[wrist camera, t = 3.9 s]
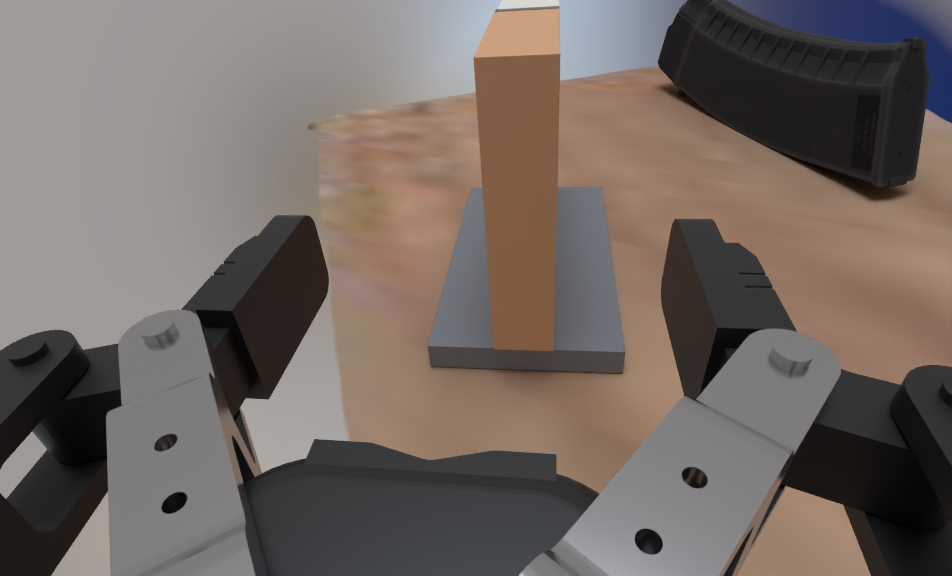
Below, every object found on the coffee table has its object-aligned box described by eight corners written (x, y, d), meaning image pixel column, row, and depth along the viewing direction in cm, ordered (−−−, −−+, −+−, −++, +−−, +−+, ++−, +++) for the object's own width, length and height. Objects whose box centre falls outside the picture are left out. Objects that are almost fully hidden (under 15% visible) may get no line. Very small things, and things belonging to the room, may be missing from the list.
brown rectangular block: (554, 260, 33) (559, 8, 25) (553, 351, 27) (560, 53, 19) (505, 260, 34) (494, 11, 25) (493, 349, 27) (473, 57, 19)
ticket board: (600, 204, 42) (617, -28, 33) (622, 373, 28) (664, 48, 18) (472, 205, 43) (453, -18, 34) (431, 366, 29) (379, 60, 20)
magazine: (1005, 79, 33) (733, -100, 50) (961, 87, 32) (701, -97, 49) (846, 261, 46) (676, 71, 64) (814, 269, 46) (651, 75, 63)
